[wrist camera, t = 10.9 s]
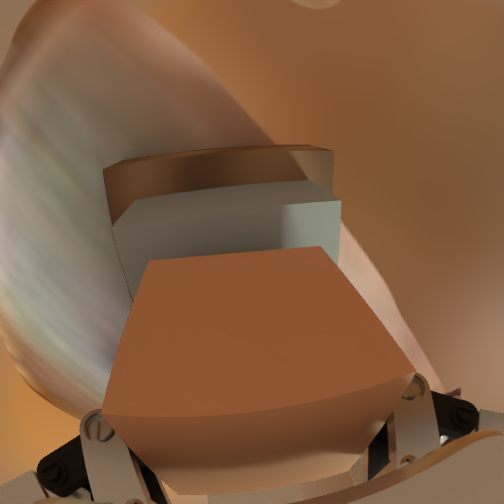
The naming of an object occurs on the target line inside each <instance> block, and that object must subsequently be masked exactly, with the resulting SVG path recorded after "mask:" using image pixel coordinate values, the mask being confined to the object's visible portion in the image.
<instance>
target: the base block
mask: <svg viewBox="0 0 504 504" xmlns="http://www.w3.org/2000/svg"><path fill="white" fill-rule="evenodd" d="M333 165H334V151H332V150H328V149H324V148H320V147H316V146H312V145H275V146H247V147H230V148H217V149H205V150H195V151H185V152H177V153H169V154H161V155H154V156H147V157H141V158H135V159H129V160H123V161H120V162H118V163H116V164H114V165H112V166H110V167H108V168H105V169H103V176H104V182H105V188H106V194H107V200H108V205H109V211H110V216H111V221H112V225H114V224H115V222H116V221H117V220H118V219H119V218H120V217H121V216H122V214H123V213H124V212H125V211H126V210H127V209H128V208H129V207H130V205H131V204H132V203H133V202H134V201H135V200H137V199H143V198H149V197H155V196H161V195H168V194H174V193H181V192H189V191H196V190H204V189H212V188H220V187H229V186H238V185H248V184H258V183H270V182H282V181H296V180H310V181H312V182H313V183H315V184H317V185H318V186H320V187H321V188H323V189H325V190H326V191H328V192H329V193H331V194H332V191H333ZM129 292H130V291H129ZM130 295H131V294H130ZM131 298H132V297H131ZM132 302H133V299H132Z"/></svg>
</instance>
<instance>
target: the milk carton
mask: <svg viewBox="0 0 504 504" xmlns="http://www.w3.org/2000/svg"><path fill="white" fill-rule="evenodd" d="M207 498H208V504H289V503H294V502H298V501H303V498H302V495H301V491H300V487H299V484H296V485H291V486H285V487H280V488H274V489H267V490H260V491H252V492H243V493H231V494H214V495H207Z"/></svg>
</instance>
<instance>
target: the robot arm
mask: <svg viewBox="0 0 504 504" xmlns="http://www.w3.org/2000/svg"><path fill="white" fill-rule="evenodd" d="M101 411H102V409H96V410H93V411H90V412H89V413H88V414H86V415H85V416H84V418H83V419H82V421H81V424H80V435H79V436H77V437H76V438H74V439H72V440H71V441H69V442H68V443H66V444H65V445H63V446H61V447H60V448H58V449H57V450H55V451H53V452H52V453H50V454H49V455H47V456H45V457H44V458H43V459H42V460H40V462H39V464H38V467H37V471H33V470H30V471H28V472H26V473H24V474H23V475H21V476H19V477H17V478H15V479H13V480H11V481H9V482H7V483H5V484H3V485H1V486H0V504H171V502H170V500H169V498H168V495H167V493H166V491H165V489H164V487H163V484H162V482H161V479H160V478H159V477H158V476H157V475H156V474H155V473H154V472H153V471H152V470H150V469H149V468H148V467H147V466H146V465H145V464H144V463H143V462H142V461H141V459H140V458H139V457H138V456H137V455H136V454H135V453H134V452H133V451H132V450H131V449H130V448H129V447H128V446H127V445H126V443H125V442H124V441H123V440H122V439H121V438H120V437H119V435H118V434H117V433H116V432H115V431H114V429H113V428H112V427H111V426H110V425H109V423H108V422H107V421H106V420H105V418H104V417H103V416H102V414H101ZM350 473H351V475H352V478H353V481H354V483H355V486H353V487H350V488H347V489H344V490H341V491H338V492H334V493H331V494H327V495H323V496H320V497H316V498H312V499H307V500H303V501H298V502H294V503H289V504H504V413H497V412H493V411H488V410H483V409H480V410H479V411H478V410H477V409H476V407H475V406H474V405H473V404H471V403H470V402H468V401H465V400H461V399H458V398H454V397H451V396H447V395H444V394H440V393H437V392H434V391H431V390H430V387H429V384H428V382H427V380H426V379H425V378H424V377H423V376H422V375H421V374H419V373H417V372H416V373H415V374H414V376H413V378H412V380H411V382H410V383H409V385H408V387H407V389H406V390H405V392H404V394H403V396H402V397H401V399H400V400H399V402H398V404H397V405H396V407H395V409H394V410H393V412H392V413H391V415H390V416H389V418H388V419H387V421H386V422H385V424H384V425H383V427H382V428H381V429H380V431H379V432H378V434H377V435H376V437H375V438H374V439H373V441H372V442H371V443H370V445H369V446H368V447H367V449H366V450H365V451H364V452H363V454H362V455H361V456H360V457H359V459H358V460H357V461H356V462H355V464H354V465H353V466H352V467H351V468H350Z"/></svg>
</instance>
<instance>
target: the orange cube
mask: <svg viewBox="0 0 504 504" xmlns="http://www.w3.org/2000/svg"><path fill="white" fill-rule="evenodd" d="M415 373H416V370H415V368H414V367H413V365H412V364H411V362H410V361H409V360H408V358H407V357H406V355H405V354H404V352H403V351H402V350H401V348H400V347H399V346H398V344H397V343H396V341H395V340H394V339H393V337H392V336H391V335H390V333H389V332H388V331H387V329H386V328H385V326H384V325H383V324H382V322H381V321H380V320H379V318H378V317H377V316H376V315H375V313H374V312H373V311H372V309H371V308H370V307H369V305H368V304H367V303H366V302H365V300H364V299H363V298H362V296H361V295H360V294H359V293H358V291H357V290H356V289H355V287H354V286H353V285H352V284H351V282H350V281H349V280H348V279H347V277H346V276H345V275H344V274H343V272H342V271H341V270H340V269H339V268H338V266H337V265H336V264H335V263H334V261H333V260H332V259H331V258H330V257H329V255H328V254H327V253H326V252H325V251H324V249H323V248H322V247H321V246H311V247H299V248H288V249H276V250H265V251H253V252H242V253H230V254H218V255H207V256H195V257H184V258H172V259H161V260H149V262H148V265H147V267H146V270H145V272H144V275H143V277H142V280H141V283H140V285H139V288H138V291H137V294H136V296H135V299H134V302H133V305H132V308H131V310H130V313H129V316H128V319H127V322H126V325H125V328H124V331H123V335H122V338H121V341H120V344H119V347H118V351H117V354H116V357H115V361H114V364H113V368H112V371H111V375H110V379H109V382H108V386H107V390H106V394H105V398H104V402H103V406H102V411H101V414H102V416H103V417H104V418H105V420H106V421H107V422H108V423H109V425H110V426H111V427H112V428H113V429H114V431H115V432H116V433H117V434H118V435H119V437H120V438H121V439H122V440H123V441H124V442H125V443H126V445H127V446H128V447H129V448H130V449H131V450H132V451H133V452H134V453H135V454H136V455H137V456H138V457H139V458H140V459H141V461H142V462H143V463H144V464H145V465H146V466H147V467H148V468H149V469H150V470H152V471H153V472H154V473H155V474H156V475H157V476H158V477H159V478H160V479H161V480H162V481H163V482H164V483H165V484H167V485H168V486H169V487H170V488H171V489H172V490H174V491H175V492H176V493H177V494H178V495H214V494H231V493H243V492H252V491H260V490H267V489H274V488H280V487H285V486H291V485H296V484H300V483H305V482H309V481H313V480H317V479H321V478H325V477H329V476H332V475H336V474H339V473H342V472H346V471H349V470H350V468H351V467H352V466H353V465H354V464H355V462H356V461H357V460H358V459H359V457H360V456H361V455H362V454H363V452H364V451H365V450H366V449H367V447H368V446H369V445H370V443H371V442H372V441H373V439H374V438H375V437H376V435H377V434H378V432H379V431H380V429H381V428H382V427H383V425H384V424H385V422H386V421H387V419H388V418H389V416H390V415H391V413H392V412H393V410H394V409H395V407H396V405H397V404H398V402H399V400H400V399H401V397H402V396H403V394H404V392H405V390H406V389H407V387H408V385H409V383H410V382H411V380H412V378H413V376H414V374H415Z"/></svg>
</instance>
